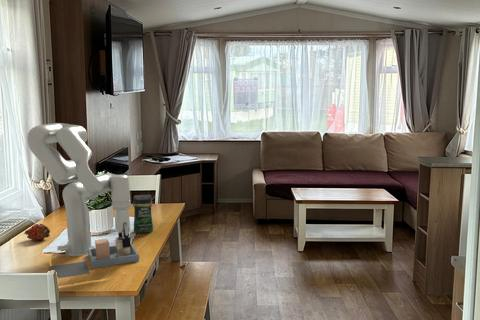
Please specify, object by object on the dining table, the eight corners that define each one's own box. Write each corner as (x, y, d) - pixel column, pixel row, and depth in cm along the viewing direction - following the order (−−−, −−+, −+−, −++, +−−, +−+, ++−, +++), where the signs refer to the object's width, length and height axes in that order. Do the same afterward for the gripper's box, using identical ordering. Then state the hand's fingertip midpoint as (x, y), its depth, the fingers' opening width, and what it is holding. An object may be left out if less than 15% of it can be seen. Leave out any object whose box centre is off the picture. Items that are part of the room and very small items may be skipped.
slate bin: (92, 269, 195) (92, 261, 194) (88, 256, 209) (88, 249, 208) (139, 262, 202) (138, 254, 201) (132, 250, 216) (131, 243, 216)
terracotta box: (97, 262, 201) (96, 243, 199) (96, 258, 205) (95, 240, 204) (110, 260, 202) (109, 242, 201) (108, 256, 207) (107, 238, 206)
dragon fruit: (52, 243, 231) (27, 247, 232) (55, 229, 237) (31, 232, 238) (44, 233, 225) (19, 237, 226) (48, 218, 231) (23, 222, 231)
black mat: (51, 281, 184) (51, 279, 184) (50, 268, 197) (49, 266, 197) (89, 275, 190) (89, 273, 189) (86, 262, 202) (85, 261, 202)
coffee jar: (134, 234, 239) (132, 197, 236) (133, 229, 247) (131, 193, 244) (154, 232, 242) (152, 196, 238) (152, 228, 249) (151, 192, 246)
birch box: (118, 259, 204) (117, 240, 202) (116, 255, 208) (115, 237, 207) (130, 257, 206) (129, 239, 204) (128, 253, 210) (127, 235, 209)
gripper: (109, 201, 210) (112, 239, 212) (115, 210, 194) (119, 251, 196) (126, 199, 212) (129, 237, 215) (134, 207, 197) (137, 248, 199)
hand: (124, 243), depth 206 cm, fingers open, 9 cm apart
